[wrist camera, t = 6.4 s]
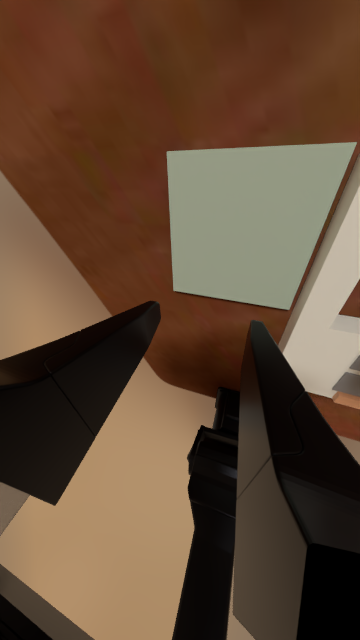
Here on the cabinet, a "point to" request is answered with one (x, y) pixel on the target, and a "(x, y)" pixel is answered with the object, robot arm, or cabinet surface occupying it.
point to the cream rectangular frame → (330, 309)
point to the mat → (250, 217)
